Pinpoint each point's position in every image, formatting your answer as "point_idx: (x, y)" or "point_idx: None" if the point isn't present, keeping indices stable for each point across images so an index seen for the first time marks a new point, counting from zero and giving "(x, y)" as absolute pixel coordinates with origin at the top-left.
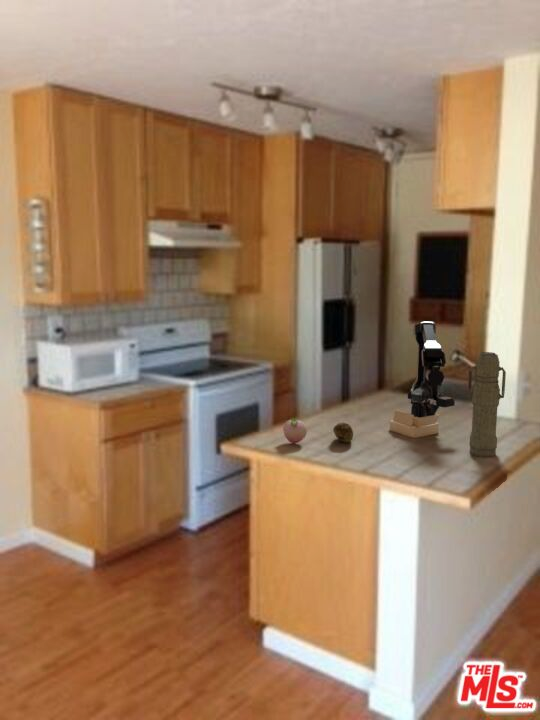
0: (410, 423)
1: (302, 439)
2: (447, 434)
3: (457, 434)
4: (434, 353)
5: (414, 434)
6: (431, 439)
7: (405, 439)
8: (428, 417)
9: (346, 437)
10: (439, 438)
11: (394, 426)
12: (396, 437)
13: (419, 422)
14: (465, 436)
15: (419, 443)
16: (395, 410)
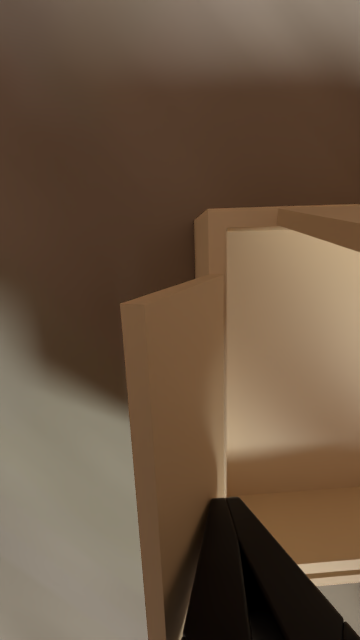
0: (322, 209)
1: None
2: (138, 528)
3: (101, 580)
4: None
5: (199, 217)
6: (87, 331)
7: (213, 109)
8: (148, 490)
9: None
10: (79, 408)
11: None
12: (318, 80)
13: (191, 281)
14: (32, 591)
15: (29, 125)
16: None
